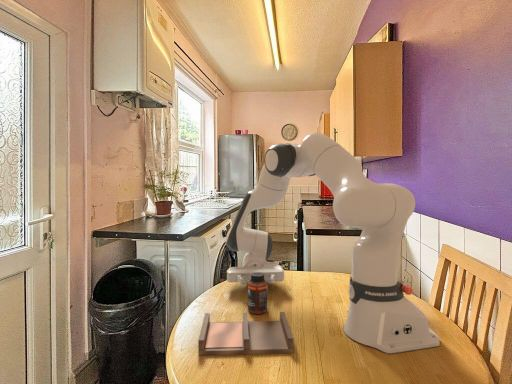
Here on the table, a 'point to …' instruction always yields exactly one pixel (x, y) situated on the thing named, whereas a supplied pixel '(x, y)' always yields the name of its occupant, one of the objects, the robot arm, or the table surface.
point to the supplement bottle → (257, 293)
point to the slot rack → (245, 337)
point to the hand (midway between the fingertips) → (256, 281)
